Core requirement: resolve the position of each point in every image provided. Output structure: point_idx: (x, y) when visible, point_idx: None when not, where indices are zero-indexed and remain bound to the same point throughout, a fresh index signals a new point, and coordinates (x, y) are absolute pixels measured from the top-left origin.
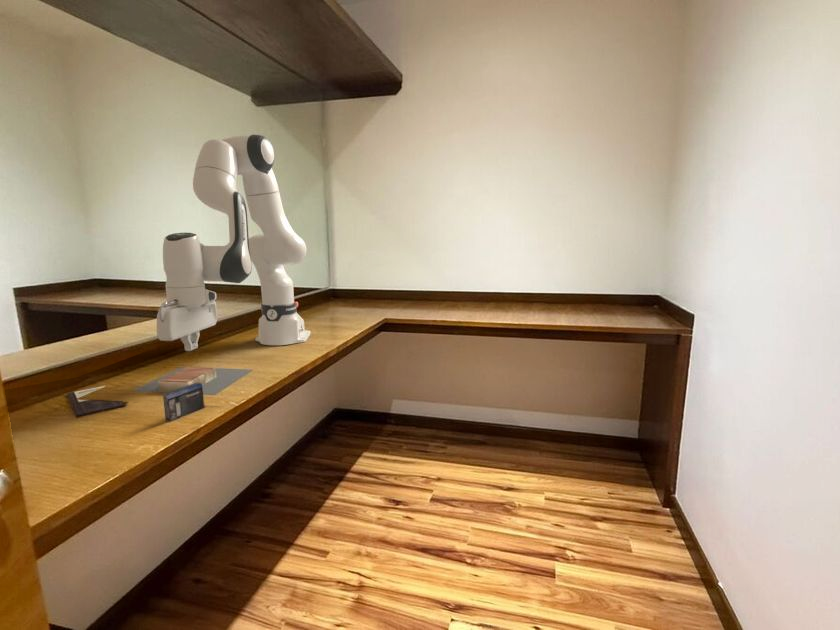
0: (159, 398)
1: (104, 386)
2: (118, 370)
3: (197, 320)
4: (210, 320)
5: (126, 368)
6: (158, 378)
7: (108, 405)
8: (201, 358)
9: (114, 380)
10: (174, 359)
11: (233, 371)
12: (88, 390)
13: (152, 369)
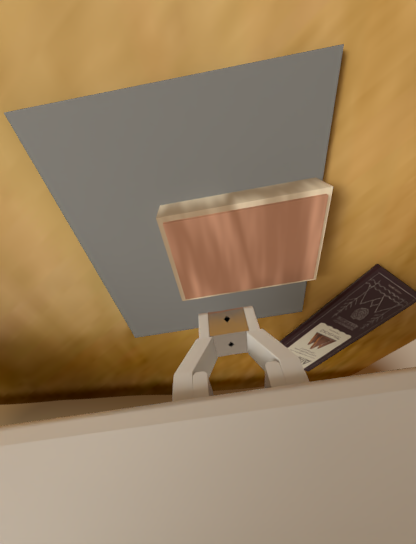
0: (332, 236)
1: None
2: None
3: (222, 526)
4: (15, 487)
5: None
6: None
7: (379, 289)
8: (54, 350)
9: (235, 369)
10: (97, 378)
11: (82, 189)
12: None
13: (165, 367)
